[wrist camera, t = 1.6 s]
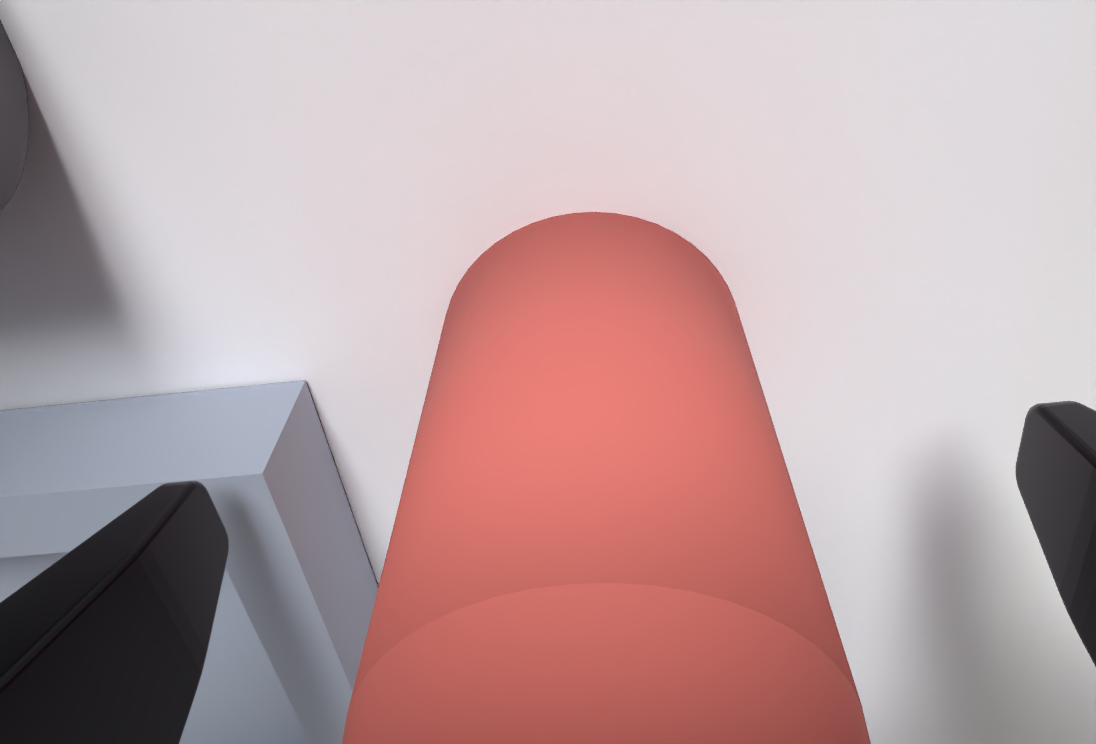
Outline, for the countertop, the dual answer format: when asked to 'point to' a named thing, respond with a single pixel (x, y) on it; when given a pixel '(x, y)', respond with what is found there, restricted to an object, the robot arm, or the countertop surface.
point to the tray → (253, 532)
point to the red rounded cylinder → (599, 518)
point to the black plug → (11, 119)
